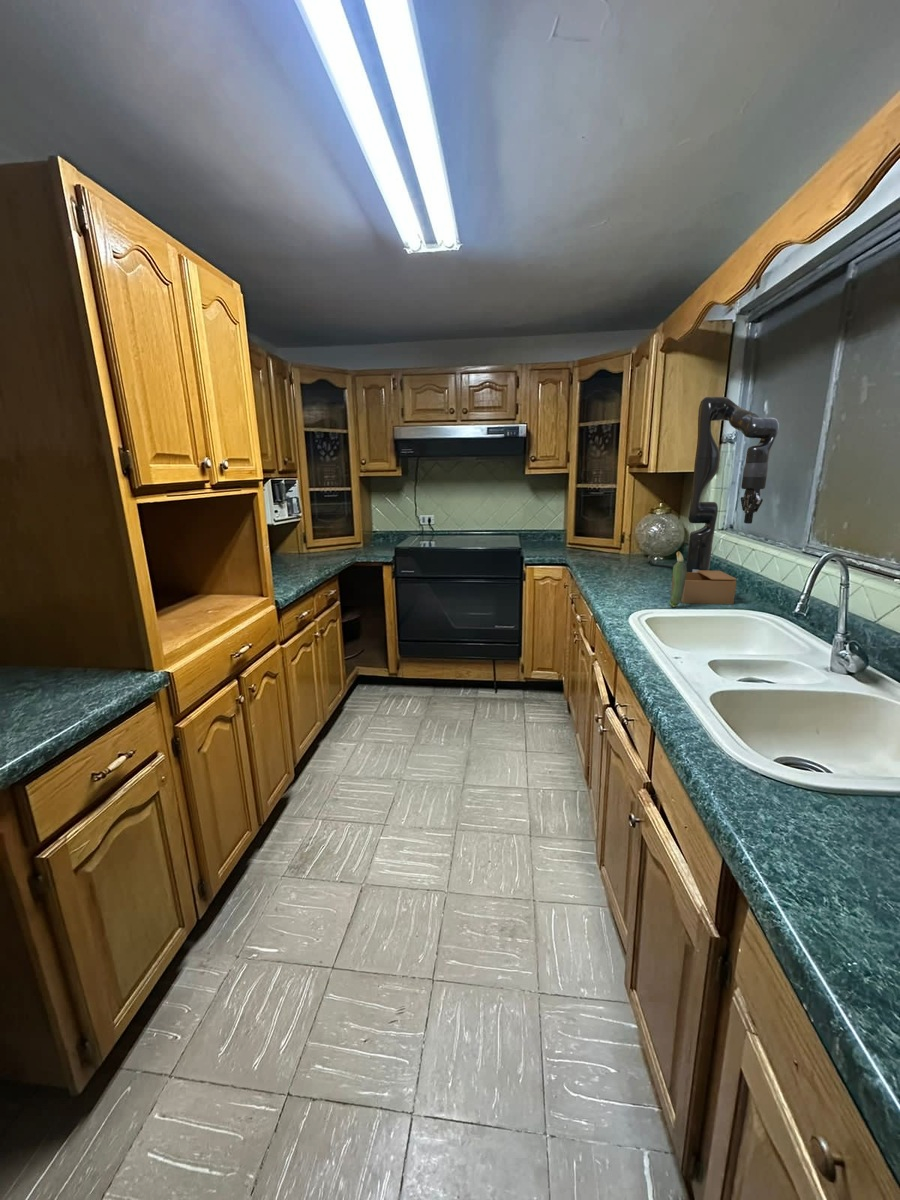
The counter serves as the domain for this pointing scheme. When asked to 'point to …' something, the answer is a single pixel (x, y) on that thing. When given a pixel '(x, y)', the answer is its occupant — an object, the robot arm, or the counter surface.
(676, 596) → the vegetable
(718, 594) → the carton
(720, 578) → the flap
